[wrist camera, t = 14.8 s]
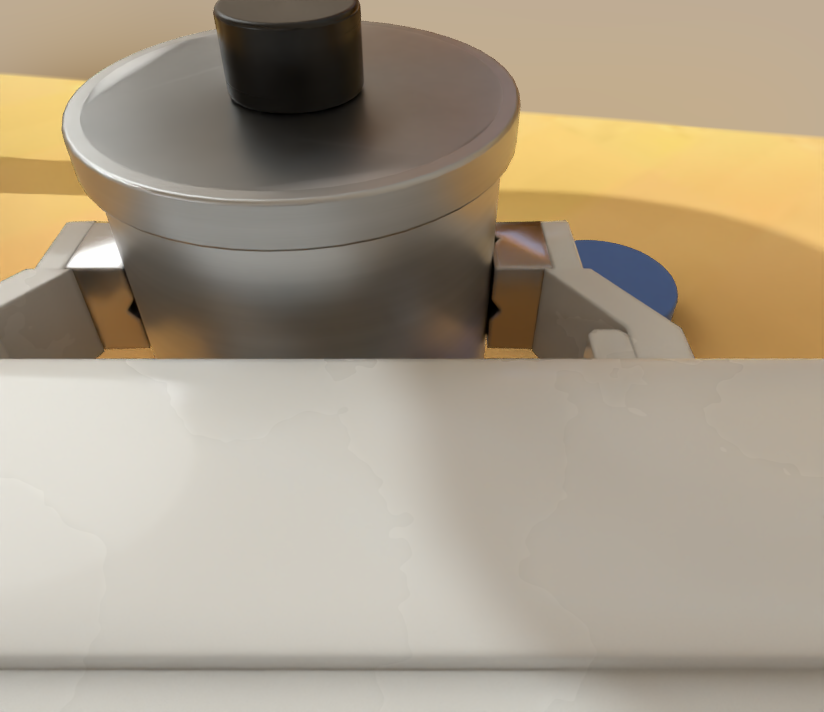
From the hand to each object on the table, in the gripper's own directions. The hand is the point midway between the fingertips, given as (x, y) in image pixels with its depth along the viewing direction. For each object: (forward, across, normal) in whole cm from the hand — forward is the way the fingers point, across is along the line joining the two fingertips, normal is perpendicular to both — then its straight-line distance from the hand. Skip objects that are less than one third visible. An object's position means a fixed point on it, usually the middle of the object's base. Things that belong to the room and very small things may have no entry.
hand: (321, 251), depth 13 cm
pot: (-1, 0, +6) cm, 6 cm away
